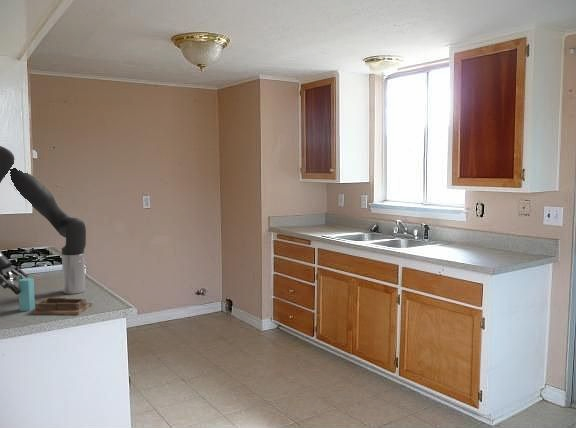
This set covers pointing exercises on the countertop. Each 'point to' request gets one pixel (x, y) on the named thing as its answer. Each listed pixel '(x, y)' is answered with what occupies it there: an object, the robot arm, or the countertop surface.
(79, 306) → the keyhole board
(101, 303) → the countertop surface
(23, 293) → the post
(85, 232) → the robot arm
